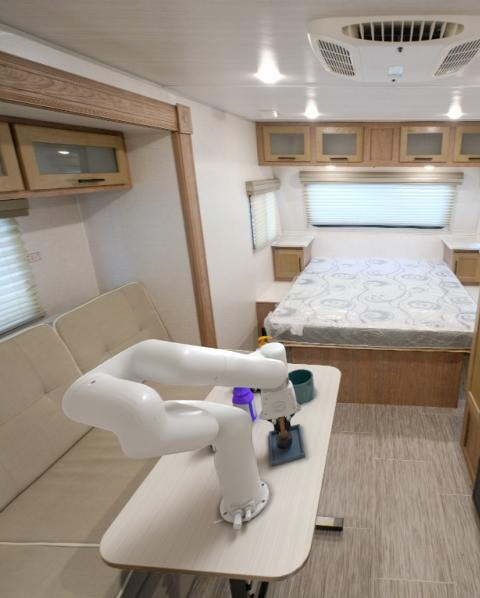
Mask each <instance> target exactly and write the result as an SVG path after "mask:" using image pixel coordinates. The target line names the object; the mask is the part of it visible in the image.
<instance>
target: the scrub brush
mask: <svg viewBox="0 0 480 598" xmlns="http://www.w3.org/2000/svg"><path fill="white" fill-rule="evenodd" d="M285 417H286V416H283V417H278V418H277V420H278V426H279V434H277V436H276V443H277V447H278V448H280V449H286V448H288V447H290V446H291V445H292V443H293V440H292V433H291V432H290V431H289V432H288V431H287V428H286V421H285Z"/></svg>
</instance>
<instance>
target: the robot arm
mask: <svg viewBox="0 0 480 598" xmlns="http://www.w3.org/2000/svg"><path fill="white" fill-rule="evenodd" d="M288 368H289V367H288V360H287V351H286V348H285V346H284V345H283V344H282V343H280V342H267V344H265V345H263V346H262V347H261V348H260V349H259V350H257V351H256V350H255V351H252V352H250V353H247V354H244V353H241V352H237V351H232V350H226V349H222V348H215V347H207V346H200V345H193V344H188V343H181V342H173V341H167V340H163V339H162V340H161V339H154V338H152V339H151V338H150V339H146V340H145V339H144V340H142V341H140V342H138V343H135V344H133V345H131V346H129V347H127V348H126V349H124V350H122V351H119V352H118V353H117V354H116V355H113V356H112V357H110V358H109V359H107V360H106V361H104V362H102V363H100V364H99V365H97V366H96V367H95V368H93V369H90V371H88V372H86V373H85V374H83V375H82V376H80V377H79V378H78V379H76V380H75V381H74V382H73V383H72V384H71V385H70V386H69V387H67V390H66V391H65V392H64V394H63V397H62V400H61V409H62V411H63V414H64V415H65V416H66V417H67V418H68V419H70V420H72V421H73V422H76V423H79V424H81V425H82V424H83V425H86V426H91V427H93V428H98V429H101V430H105V431H107V432H111V433H113V434H114V435H115V436H116V437H117V440H118V441H119V445H120V448H121V451H122V453H123V454H124V455H125V456H126V457H127V458H130V459H131V460H143V459H145V460H146V459H150V458H154V457H155V458H156V457H162V456H169V455H175V454H181V453H182V454H183V453H188V452H194V451H195V452H196V451H198V450H200V449H203V448H206V447H207V446H208V445H209V446H210V445H213V446H215V447H216V448H217V449H218V450H217V451H216V452H215V453H214V456H213V467H214V468H215V472H216V476H217V479H218V483H219V487H220V490H221V492H222V493H221V494H222V498H221V501H220V503H219V512H220V515H221V518H222V519H223V520H224V521H225V522H228V523H232V524H233V527H232V528H233V530H240V529H241V528H242V526H243V524H242V523H244V522H249V521H251V520H252V519H253V518H255V517H256V516H257V515H259V514H260V513H261V512H262V511H263V509H264V508H265V507H266V506H267V504H268V502H269V498H270V490H269V487H268V485H267V484H266V483H265V481H263V480H261V476H260V473H259V467H258V463H257V457H256V453H255V449H254V443H253V426H254V425H253V423H254V421H253V422H252V417H251V415H250V414H249V413H248V412H247V411H245V410H243V409H240V408H237V407H233V405H229V404H223V403H217V402H213V401H207V400H201V399H199V400H197V399H195V400H194V399H191V400H190V399H169V400H163V398H162V397H161V396H160V394H159V392H157V391H156V390H155V389H154V388H153V387H150V386H149V385H147V384H144V383H143V382H144V381H147V382H152V383H156V384H161V385H167V386H173V387H177V386H178V387H222V388H234V387H244V388H260V389H259V390H260V402H261V403H260V404H261V405H260V406H261V410H260V413H259V415H258V419H259V420H261V421H266V422H268V423H271V424H272V426H273V430H274V431H277V434H279V426H278V420H277V418H278V417H283V416H285V421H286V428H287V431H288V432H289V427H291V426H292V425H291V421H292V418H293V417H295V415H296V414H297V413H299V412H300V411H302V407H301V404H298V403H297V401H296V397H295V392H294V388H293V385H292V383H291V381H290V380H289V376H288V373H289V369H288Z"/></svg>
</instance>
